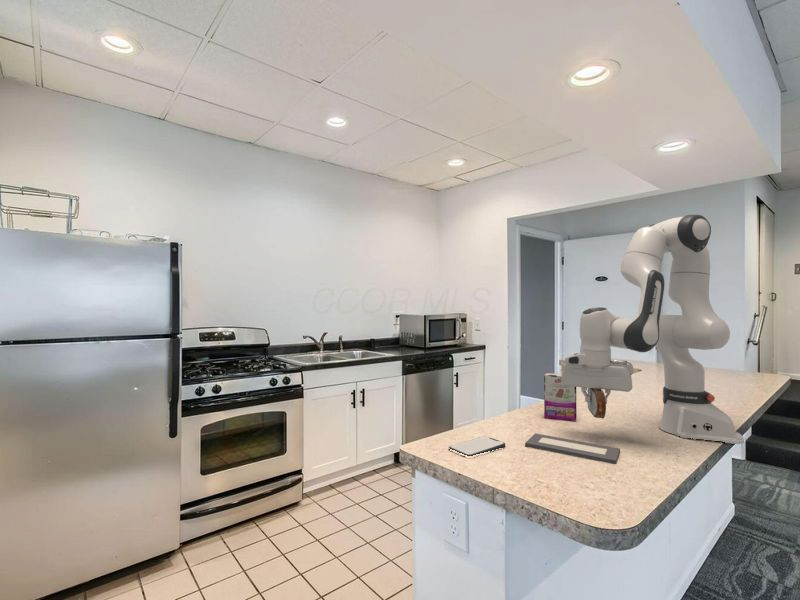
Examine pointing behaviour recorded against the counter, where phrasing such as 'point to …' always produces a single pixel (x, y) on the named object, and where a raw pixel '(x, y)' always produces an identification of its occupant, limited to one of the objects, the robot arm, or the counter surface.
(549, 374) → the candy bar box
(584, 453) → the dark gray picture frame
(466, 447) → the phone case
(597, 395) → the tin
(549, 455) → the counter surface
